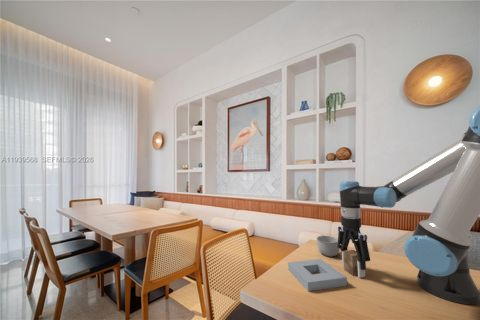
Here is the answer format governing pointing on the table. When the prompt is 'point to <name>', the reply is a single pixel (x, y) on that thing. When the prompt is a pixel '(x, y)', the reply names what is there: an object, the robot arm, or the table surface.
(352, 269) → the peg
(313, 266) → the housing
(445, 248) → the robot arm
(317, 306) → the table surface
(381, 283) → the table surface
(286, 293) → the table surface
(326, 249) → the teacup
